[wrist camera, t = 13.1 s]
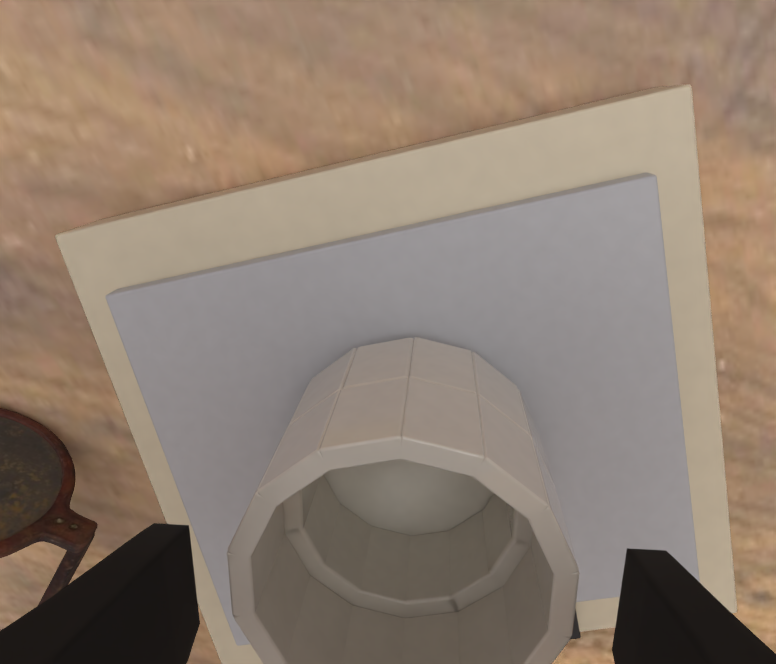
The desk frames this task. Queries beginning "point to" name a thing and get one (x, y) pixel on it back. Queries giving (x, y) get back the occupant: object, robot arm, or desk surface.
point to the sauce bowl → (406, 521)
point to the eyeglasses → (39, 496)
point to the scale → (437, 324)
